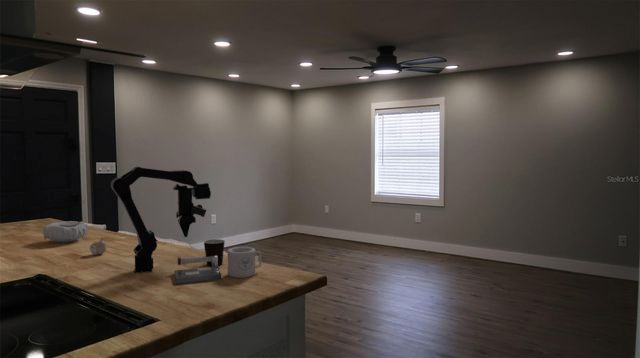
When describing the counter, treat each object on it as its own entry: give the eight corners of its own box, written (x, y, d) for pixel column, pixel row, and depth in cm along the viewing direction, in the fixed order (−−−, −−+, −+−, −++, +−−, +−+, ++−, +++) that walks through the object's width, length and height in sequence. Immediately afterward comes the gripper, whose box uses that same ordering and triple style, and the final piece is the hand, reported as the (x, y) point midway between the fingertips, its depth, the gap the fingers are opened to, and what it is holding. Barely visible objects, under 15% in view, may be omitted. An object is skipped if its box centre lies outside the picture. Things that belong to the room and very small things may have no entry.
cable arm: (178, 271, 174) (177, 259, 174) (177, 270, 177) (177, 257, 176) (218, 268, 179) (218, 255, 179) (217, 266, 182) (217, 254, 182)
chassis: (177, 284, 160) (176, 278, 160) (174, 275, 171) (174, 270, 171) (221, 279, 167) (221, 273, 166) (216, 271, 178) (215, 265, 177)
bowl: (76, 236, 248) (76, 218, 247) (95, 240, 236) (94, 222, 235) (36, 242, 231) (35, 223, 230) (54, 247, 219) (53, 227, 218)
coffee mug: (219, 267, 183) (219, 243, 182) (200, 266, 185) (200, 243, 184) (230, 260, 194) (230, 238, 194) (212, 259, 196) (212, 237, 195)
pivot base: (210, 271, 178) (210, 270, 178) (209, 268, 181) (209, 267, 181) (220, 270, 179) (220, 269, 179) (218, 267, 183) (218, 266, 183)
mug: (232, 279, 166) (231, 253, 165) (224, 272, 176) (224, 248, 175) (266, 275, 172) (265, 249, 172) (256, 268, 182) (256, 244, 181)
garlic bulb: (92, 257, 201) (91, 239, 200) (88, 254, 205) (88, 237, 205) (108, 254, 205) (107, 237, 204) (104, 252, 210) (103, 235, 209)
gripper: (208, 201, 180) (208, 239, 181) (201, 197, 197) (202, 231, 198) (179, 203, 176) (180, 241, 177) (175, 198, 193) (176, 233, 194)
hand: (185, 236), depth 187 cm, fingers closed
